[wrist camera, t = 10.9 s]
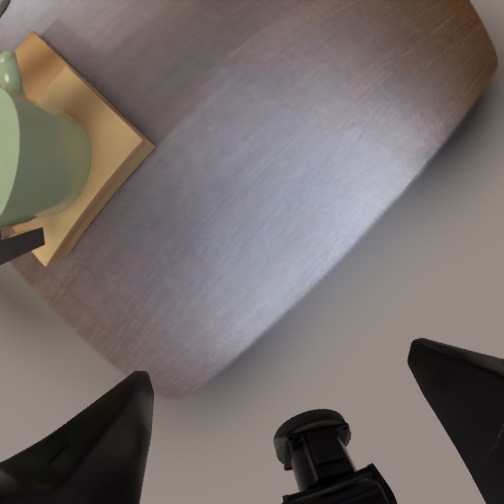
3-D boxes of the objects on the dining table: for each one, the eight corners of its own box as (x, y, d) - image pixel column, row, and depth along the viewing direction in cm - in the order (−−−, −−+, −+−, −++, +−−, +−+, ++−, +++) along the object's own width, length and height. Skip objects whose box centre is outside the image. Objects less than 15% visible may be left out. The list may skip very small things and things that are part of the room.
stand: (156, 147, 18) (143, 139, 14) (68, 254, 18) (45, 267, 15) (40, 36, 14) (20, 21, 10) (-27, 130, 15) (-51, 127, 11)
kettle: (96, 235, 15) (15, 278, 7) (17, 243, 14) (-67, 279, 7) (96, 64, 13) (29, 3, 5) (16, 90, 12) (-61, 62, 4)
